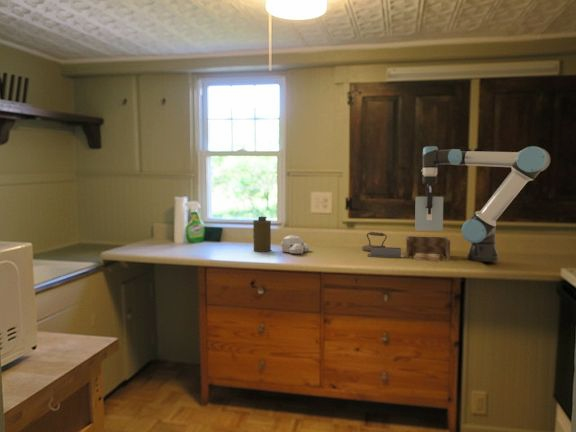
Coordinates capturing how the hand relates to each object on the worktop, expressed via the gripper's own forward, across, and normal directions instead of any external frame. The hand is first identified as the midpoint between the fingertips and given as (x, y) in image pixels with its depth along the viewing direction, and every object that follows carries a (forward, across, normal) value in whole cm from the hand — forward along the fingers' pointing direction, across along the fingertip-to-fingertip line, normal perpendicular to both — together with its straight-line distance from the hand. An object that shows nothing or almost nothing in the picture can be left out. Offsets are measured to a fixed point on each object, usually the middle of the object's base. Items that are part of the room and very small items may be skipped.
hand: (428, 220), depth 248 cm
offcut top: (+19, +5, -1) cm, 20 cm away
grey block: (+20, 0, -22) cm, 30 cm away
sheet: (+6, 0, 0) cm, 6 cm away
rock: (+20, -5, -75) cm, 78 cm away
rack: (+20, 0, 0) cm, 20 cm away
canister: (+20, -5, -94) cm, 97 cm away
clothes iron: (+22, -16, -33) cm, 43 cm away
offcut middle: (+20, +5, -1) cm, 21 cm away
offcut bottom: (+21, +5, 0) cm, 22 cm away
